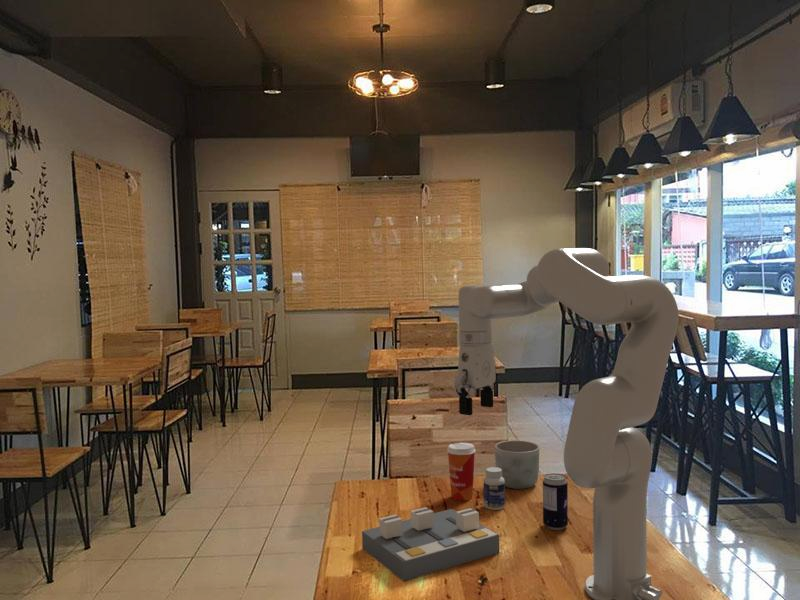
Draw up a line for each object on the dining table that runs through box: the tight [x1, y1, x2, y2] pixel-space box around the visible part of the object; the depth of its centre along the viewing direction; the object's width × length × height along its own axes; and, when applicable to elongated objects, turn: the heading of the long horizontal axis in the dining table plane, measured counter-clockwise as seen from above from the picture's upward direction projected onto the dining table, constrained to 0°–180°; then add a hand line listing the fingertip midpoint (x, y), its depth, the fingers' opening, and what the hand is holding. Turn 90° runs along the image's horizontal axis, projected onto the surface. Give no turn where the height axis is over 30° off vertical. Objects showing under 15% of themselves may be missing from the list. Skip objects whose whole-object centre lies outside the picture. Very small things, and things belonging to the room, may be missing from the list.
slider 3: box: [456, 508, 480, 532], centre depth 148 cm, size 3×4×4 cm
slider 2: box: [410, 506, 434, 531], centre depth 149 cm, size 3×4×4 cm
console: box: [361, 508, 500, 582], centre depth 147 cm, size 18×24×4 cm
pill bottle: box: [483, 466, 506, 511], centre depth 172 cm, size 5×5×10 cm
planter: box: [494, 439, 540, 490], centre depth 189 cm, size 12×12×11 cm
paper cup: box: [446, 442, 477, 502], centre depth 179 cm, size 8×8×14 cm
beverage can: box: [542, 473, 569, 531], centre depth 159 cm, size 6×6×12 cm
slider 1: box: [378, 514, 403, 539], centre depth 145 cm, size 3×4×4 cm
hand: (476, 410), depth 158 cm, fingers open, 9 cm apart
